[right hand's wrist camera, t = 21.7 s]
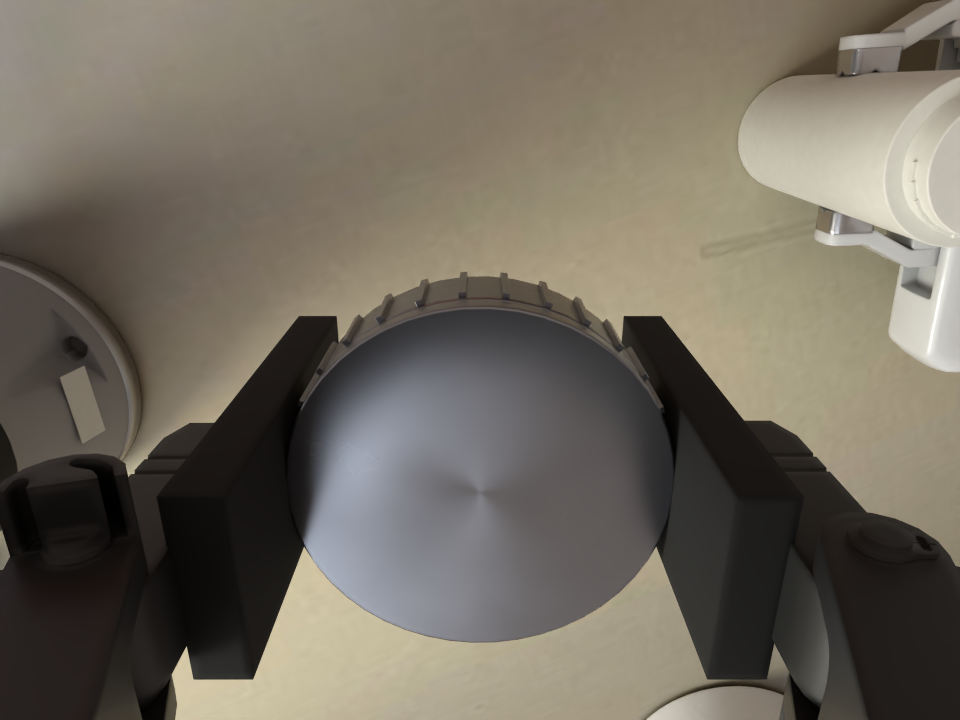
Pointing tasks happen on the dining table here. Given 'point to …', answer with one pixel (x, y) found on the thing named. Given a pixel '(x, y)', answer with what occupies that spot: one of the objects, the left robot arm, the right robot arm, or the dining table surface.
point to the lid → (480, 461)
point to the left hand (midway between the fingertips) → (832, 145)
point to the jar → (864, 147)
